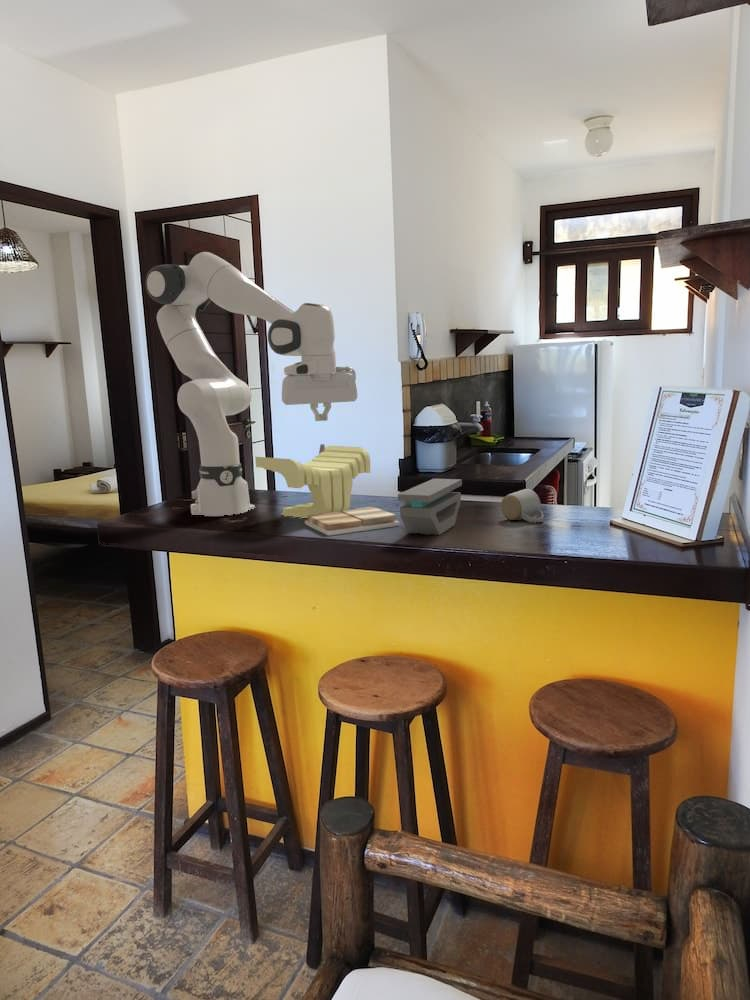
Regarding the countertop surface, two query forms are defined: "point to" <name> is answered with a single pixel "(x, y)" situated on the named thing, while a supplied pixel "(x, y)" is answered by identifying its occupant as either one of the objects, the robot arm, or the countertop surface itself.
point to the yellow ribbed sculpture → (321, 478)
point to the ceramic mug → (522, 506)
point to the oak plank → (334, 521)
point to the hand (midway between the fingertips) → (321, 420)
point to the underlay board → (354, 529)
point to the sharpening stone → (431, 506)
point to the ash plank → (370, 515)
